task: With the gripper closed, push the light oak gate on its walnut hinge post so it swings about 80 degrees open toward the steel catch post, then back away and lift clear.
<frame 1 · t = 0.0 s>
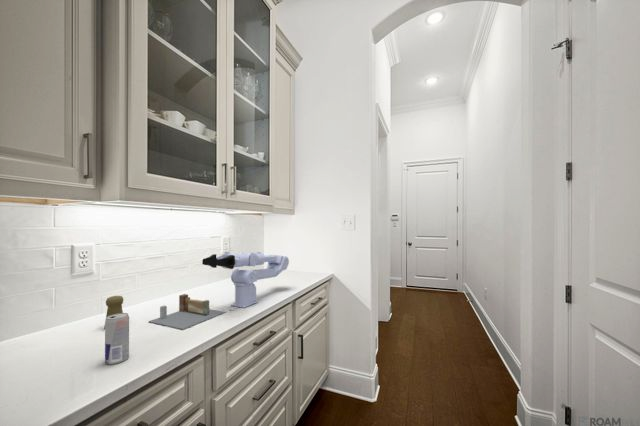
hand: (209, 262, 110), 22 cm above the worktop, tool horizontal, fingers open, 7 cm apart
gate: (196, 305, 114), point 3 cm above the worktop, hinge at 0.0°
hinge post: (183, 311, 117), resting on mat
energy drink: (117, 360, 76), on the worktop
cork: (114, 327, 101), on the worktop
mat: (188, 317, 110), on the worktop
catch post: (163, 319, 108), resting on mat
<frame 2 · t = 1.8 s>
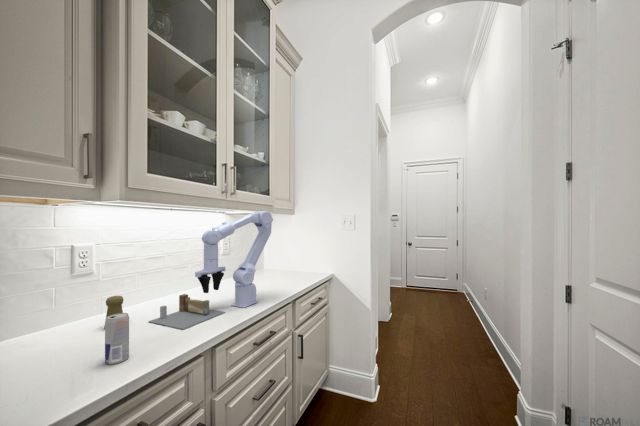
hand: (211, 291, 117), 8 cm above the worktop, tool pointing down, fingers open, 5 cm apart
nothing on the worktop moved.
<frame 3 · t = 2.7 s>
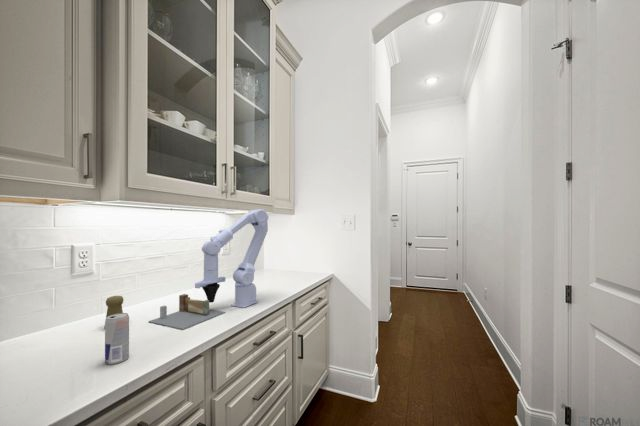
hand: (210, 302, 117), 4 cm above the worktop, tool pointing down, fingers closed
nothing on the worktop moved.
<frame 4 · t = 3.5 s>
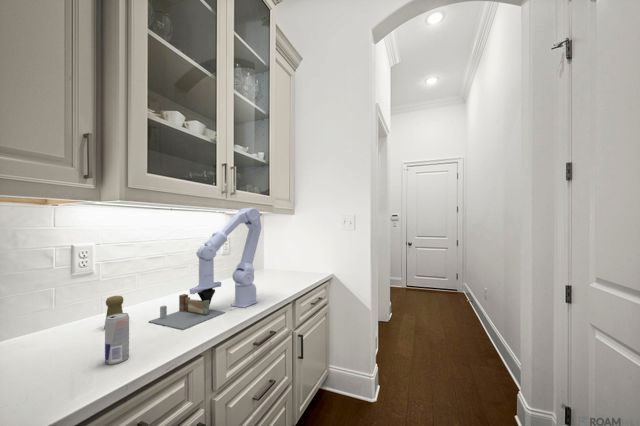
hand: (206, 307, 115), 2 cm above the worktop, tool pointing down, fingers closed
gate: (196, 305, 114), point 3 cm above the worktop, hinge at 0.0°, touching gripper
everything else where it was.
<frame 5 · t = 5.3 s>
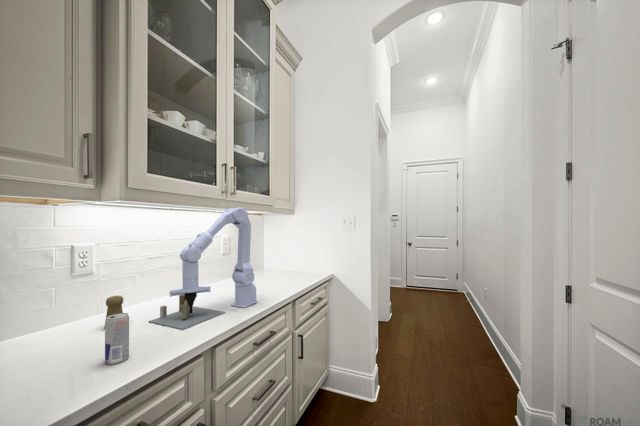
hand: (190, 312, 110), 2 cm above the worktop, tool pointing down, fingers closed
gate: (186, 307, 111), point 4 cm above the worktop, hinge at -45.1°, touching gripper
everything else where it was.
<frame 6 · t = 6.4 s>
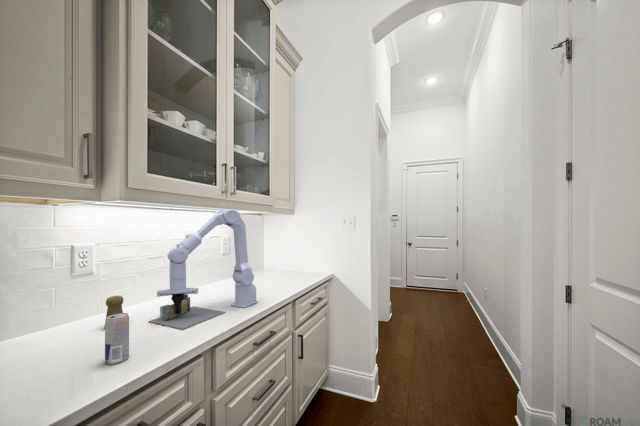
hand: (178, 313, 108), 2 cm above the worktop, tool pointing down, fingers closed, pressing on gate
gate: (178, 307, 111), point 4 cm above the worktop, hinge at -80.6°, touching gripper
everything else where it was.
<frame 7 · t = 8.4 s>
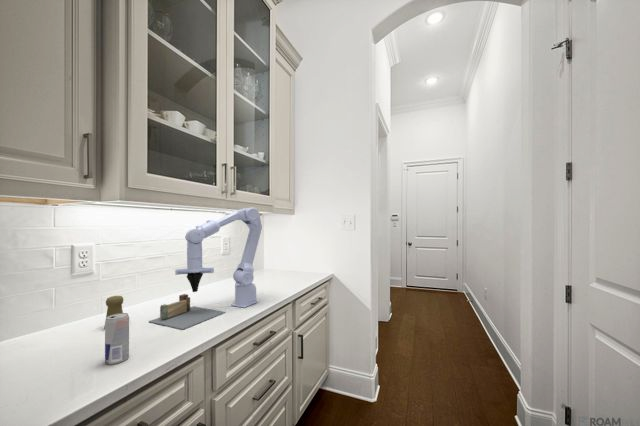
hand: (195, 291, 114), 9 cm above the worktop, tool pointing down, fingers closed
gate: (176, 307, 111), point 4 cm above the worktop, hinge at -89.0°
everything else where it was.
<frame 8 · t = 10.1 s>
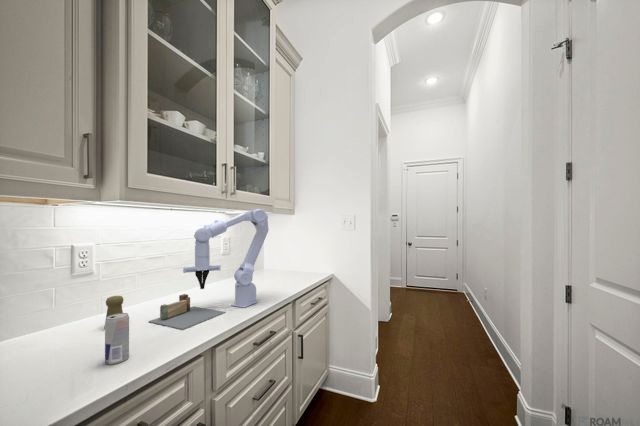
hand: (202, 288, 118), 9 cm above the worktop, tool pointing down, fingers closed
nothing on the worktop moved.
at the end: gate at -89° (first picture: +0°) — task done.
